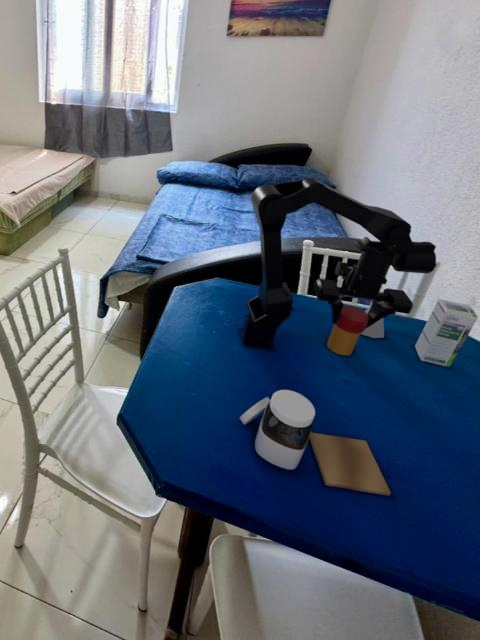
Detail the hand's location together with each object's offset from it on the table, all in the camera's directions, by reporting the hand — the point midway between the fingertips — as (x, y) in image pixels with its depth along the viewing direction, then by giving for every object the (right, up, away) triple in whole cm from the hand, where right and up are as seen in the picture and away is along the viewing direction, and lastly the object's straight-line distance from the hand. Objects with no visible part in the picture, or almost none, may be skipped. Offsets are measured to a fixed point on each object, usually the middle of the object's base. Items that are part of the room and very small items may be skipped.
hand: (348, 325), depth 96 cm
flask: (+11, -3, +10) cm, 15 cm away
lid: (0, 0, 0) cm, 0 cm away
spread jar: (-28, -18, -21) cm, 39 cm away
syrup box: (+21, -8, +1) cm, 22 cm away
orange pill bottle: (0, -6, +3) cm, 7 cm away
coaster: (-16, -20, -24) cm, 35 cm away
